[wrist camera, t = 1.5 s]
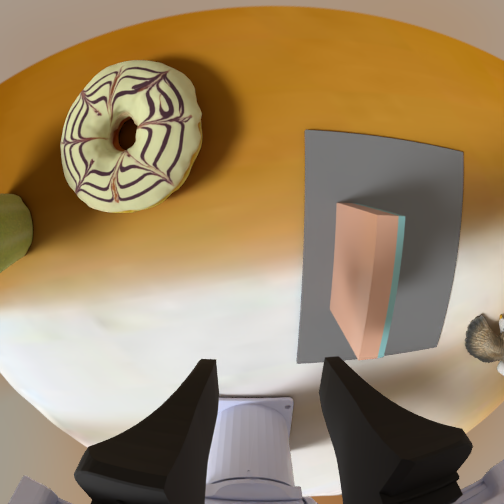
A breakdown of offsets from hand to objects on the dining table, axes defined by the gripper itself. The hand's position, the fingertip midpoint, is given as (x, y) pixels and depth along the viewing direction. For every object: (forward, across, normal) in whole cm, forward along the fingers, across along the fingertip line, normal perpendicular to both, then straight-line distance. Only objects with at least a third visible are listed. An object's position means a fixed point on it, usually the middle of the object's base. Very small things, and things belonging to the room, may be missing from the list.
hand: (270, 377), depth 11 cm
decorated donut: (+11, +9, -11) cm, 18 cm away
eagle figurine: (+11, -26, +7) cm, 29 cm away
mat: (+10, -10, -2) cm, 15 cm away
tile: (+10, -6, -2) cm, 12 cm away
